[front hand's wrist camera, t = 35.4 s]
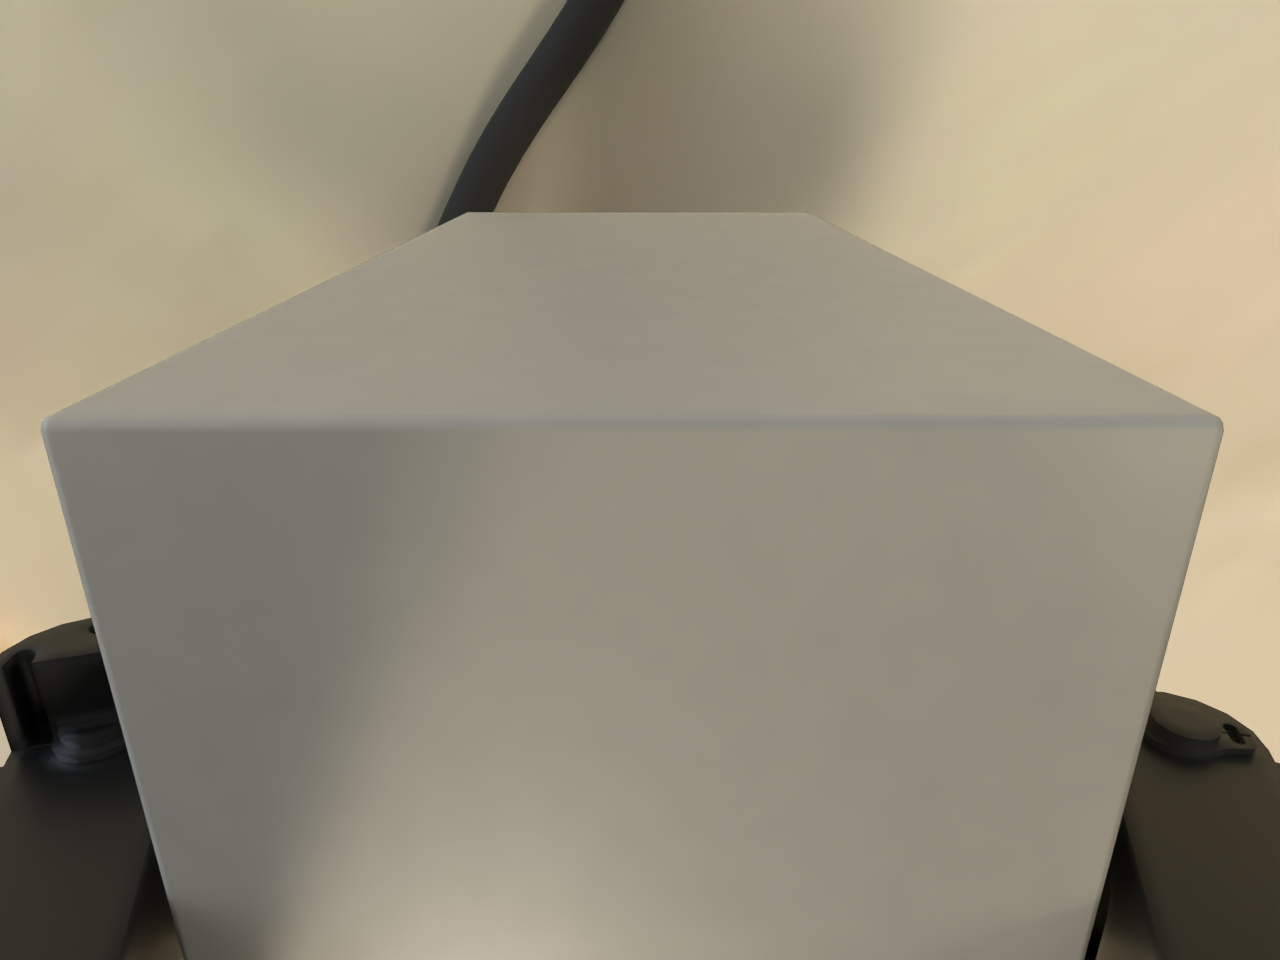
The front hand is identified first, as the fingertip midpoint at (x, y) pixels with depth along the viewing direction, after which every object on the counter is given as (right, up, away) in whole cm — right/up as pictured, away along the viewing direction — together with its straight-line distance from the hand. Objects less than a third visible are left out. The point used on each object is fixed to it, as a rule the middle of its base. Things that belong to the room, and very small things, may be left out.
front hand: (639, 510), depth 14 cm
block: (0, +1, +3) cm, 3 cm away
